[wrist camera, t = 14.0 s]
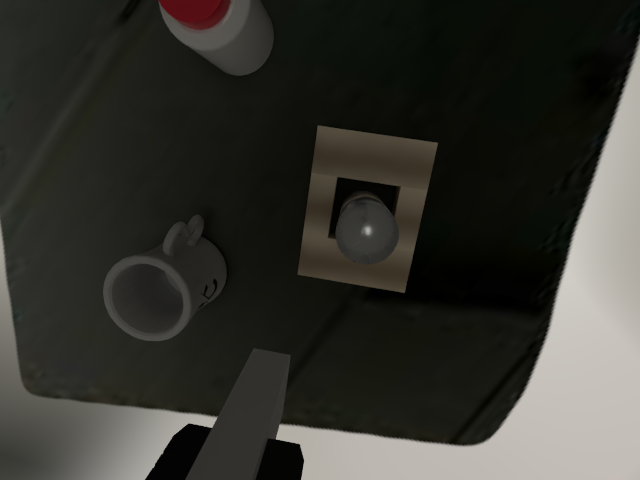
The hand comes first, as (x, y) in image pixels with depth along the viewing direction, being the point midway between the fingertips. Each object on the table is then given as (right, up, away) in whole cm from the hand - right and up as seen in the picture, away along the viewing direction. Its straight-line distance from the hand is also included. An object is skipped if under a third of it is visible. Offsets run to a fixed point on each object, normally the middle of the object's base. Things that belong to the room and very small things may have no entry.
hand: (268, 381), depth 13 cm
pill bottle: (-7, +27, +22) cm, 35 cm away
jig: (+7, +9, +24) cm, 27 cm away
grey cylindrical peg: (+7, +9, +24) cm, 27 cm away
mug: (-13, +4, +28) cm, 31 cm away
